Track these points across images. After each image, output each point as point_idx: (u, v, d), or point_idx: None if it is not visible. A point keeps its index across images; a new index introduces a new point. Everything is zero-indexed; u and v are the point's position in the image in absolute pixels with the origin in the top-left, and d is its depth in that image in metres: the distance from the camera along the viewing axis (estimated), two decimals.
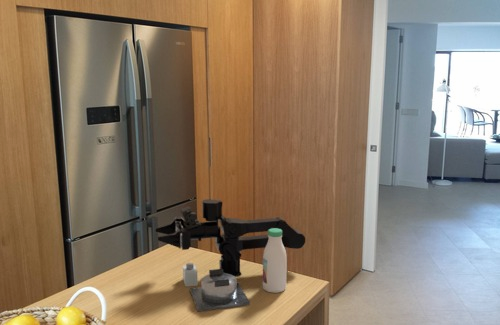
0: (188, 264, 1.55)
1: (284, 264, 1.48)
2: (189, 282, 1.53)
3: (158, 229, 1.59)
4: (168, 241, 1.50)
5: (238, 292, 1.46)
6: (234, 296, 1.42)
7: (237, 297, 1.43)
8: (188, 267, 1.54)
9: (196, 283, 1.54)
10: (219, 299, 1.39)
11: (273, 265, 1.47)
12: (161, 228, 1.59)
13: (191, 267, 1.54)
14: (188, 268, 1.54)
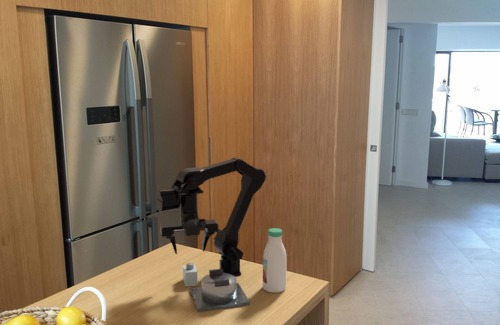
0: (188, 264, 1.55)
1: (284, 264, 1.48)
2: (189, 282, 1.53)
3: (176, 251, 1.53)
4: None
5: (238, 292, 1.46)
6: (234, 296, 1.42)
7: (237, 297, 1.43)
8: (188, 267, 1.54)
9: (196, 283, 1.54)
10: (219, 299, 1.39)
11: (273, 265, 1.47)
12: (176, 248, 1.52)
13: (191, 267, 1.54)
14: (188, 268, 1.54)
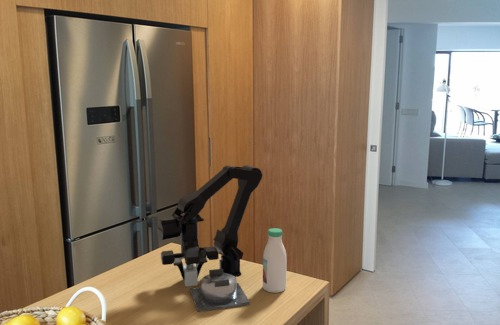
0: None
1: (284, 264, 1.48)
2: (189, 282, 1.53)
3: None
4: None
5: (238, 292, 1.46)
6: (234, 296, 1.42)
7: (237, 297, 1.43)
8: (188, 267, 1.54)
9: (196, 283, 1.54)
10: (219, 299, 1.39)
11: (273, 265, 1.47)
12: None
13: (191, 267, 1.54)
14: (188, 268, 1.54)
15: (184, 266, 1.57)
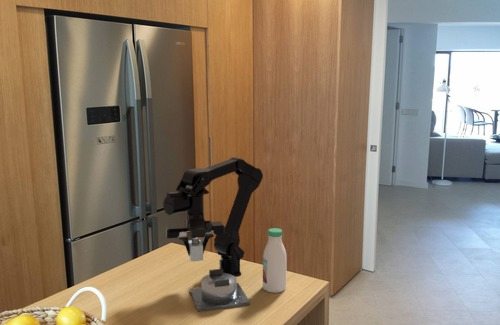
0: (194, 238, 1.51)
1: (284, 264, 1.48)
2: (195, 257, 1.49)
3: (189, 252, 1.51)
4: None
5: (238, 292, 1.46)
6: (234, 296, 1.42)
7: (237, 297, 1.43)
8: (193, 241, 1.50)
9: (202, 258, 1.49)
10: (219, 299, 1.39)
11: (273, 265, 1.47)
12: (189, 249, 1.50)
13: (197, 241, 1.50)
14: (193, 242, 1.50)
15: (190, 241, 1.53)
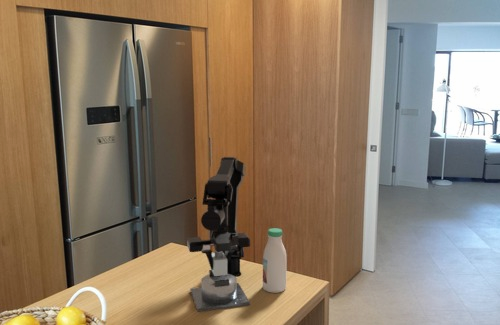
0: None
1: (284, 264, 1.48)
2: (219, 271, 1.40)
3: (212, 266, 1.42)
4: None
5: (238, 292, 1.46)
6: (234, 296, 1.42)
7: (237, 297, 1.43)
8: (217, 255, 1.41)
9: (226, 272, 1.41)
10: (219, 299, 1.39)
11: (273, 265, 1.47)
12: (212, 263, 1.42)
13: (220, 255, 1.41)
14: (217, 256, 1.41)
15: (212, 254, 1.44)
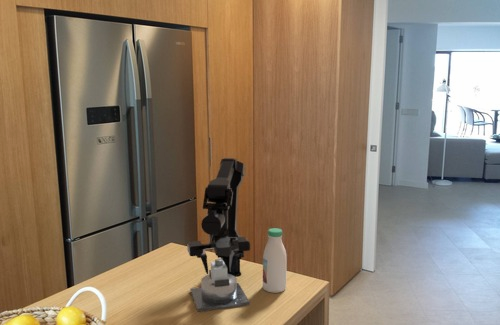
0: (217, 260, 1.42)
1: (284, 264, 1.48)
2: (219, 279, 1.40)
3: (207, 270, 1.42)
4: None
5: (238, 292, 1.46)
6: (234, 296, 1.42)
7: (237, 297, 1.43)
8: (217, 263, 1.42)
9: None
10: (219, 299, 1.39)
11: (273, 265, 1.47)
12: (207, 268, 1.42)
13: (220, 263, 1.42)
14: (217, 264, 1.42)
15: (212, 262, 1.44)
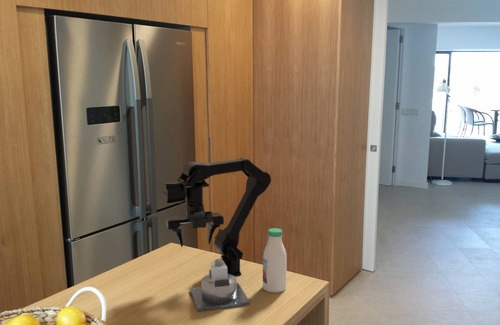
0: (217, 260, 1.42)
1: (284, 264, 1.48)
2: (219, 279, 1.40)
3: (182, 243, 1.54)
4: None
5: (238, 292, 1.46)
6: (234, 296, 1.42)
7: (237, 297, 1.43)
8: (217, 263, 1.42)
9: None
10: (219, 299, 1.39)
11: (273, 265, 1.47)
12: (182, 241, 1.54)
13: (220, 263, 1.42)
14: (217, 264, 1.42)
15: (212, 262, 1.44)
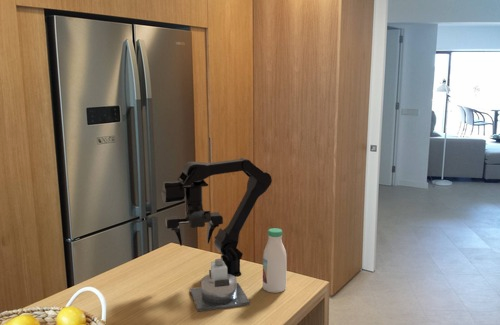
0: (217, 260, 1.42)
1: (284, 264, 1.48)
2: (219, 279, 1.40)
3: (181, 243, 1.55)
4: None
5: (238, 292, 1.46)
6: (234, 296, 1.42)
7: (237, 297, 1.43)
8: (217, 263, 1.42)
9: None
10: (219, 299, 1.39)
11: (273, 265, 1.47)
12: (181, 240, 1.54)
13: (220, 263, 1.42)
14: (217, 264, 1.42)
15: (212, 262, 1.44)
